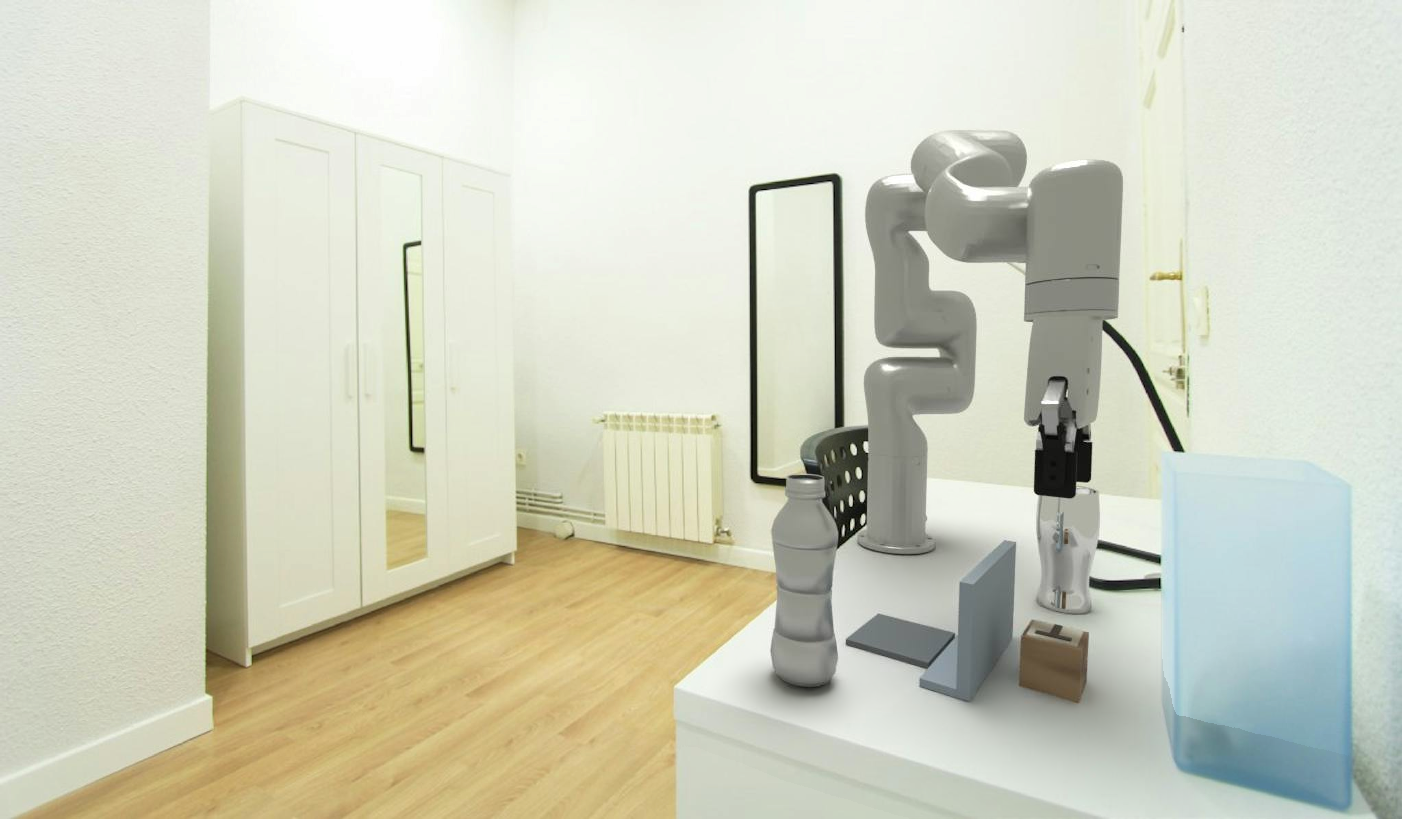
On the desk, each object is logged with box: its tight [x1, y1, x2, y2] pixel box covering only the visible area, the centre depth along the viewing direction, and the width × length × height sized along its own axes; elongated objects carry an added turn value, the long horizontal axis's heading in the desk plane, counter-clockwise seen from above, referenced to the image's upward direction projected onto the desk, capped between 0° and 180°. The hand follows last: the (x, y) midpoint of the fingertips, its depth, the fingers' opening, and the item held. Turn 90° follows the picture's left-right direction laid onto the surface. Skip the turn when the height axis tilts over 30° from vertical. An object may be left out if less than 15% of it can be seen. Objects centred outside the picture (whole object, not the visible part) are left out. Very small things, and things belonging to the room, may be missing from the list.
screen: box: [918, 540, 1017, 703], centre depth 66 cm, size 17×5×11 cm, turn 142°
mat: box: [845, 613, 956, 669], centre depth 71 cm, size 9×9×1 cm
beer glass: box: [1035, 484, 1101, 615], centre depth 81 cm, size 7×7×15 cm
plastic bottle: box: [769, 473, 839, 688], centre depth 62 cm, size 6×7×20 cm
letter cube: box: [1018, 619, 1090, 704], centre depth 61 cm, size 5×5×5 cm
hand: (1063, 488), depth 60 cm, fingers open, 9 cm apart
